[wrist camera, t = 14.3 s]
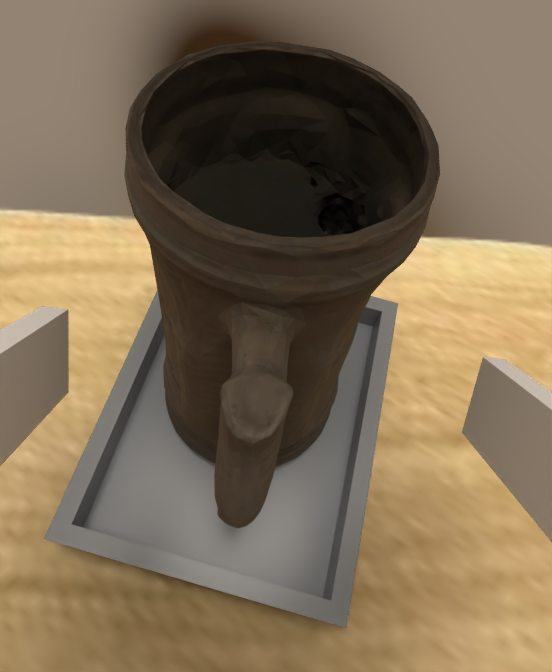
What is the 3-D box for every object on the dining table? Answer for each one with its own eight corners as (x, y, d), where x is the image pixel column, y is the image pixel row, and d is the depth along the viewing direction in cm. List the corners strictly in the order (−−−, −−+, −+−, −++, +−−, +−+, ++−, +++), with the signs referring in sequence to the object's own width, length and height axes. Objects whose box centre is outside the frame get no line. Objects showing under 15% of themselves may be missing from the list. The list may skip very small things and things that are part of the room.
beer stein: (168, 312, 33) (111, 10, 15) (317, 310, 35) (423, 32, 17) (162, 551, 26) (48, 505, 9) (348, 536, 28) (578, 471, 10)
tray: (61, 542, 27) (43, 539, 24) (182, 266, 36) (179, 242, 33) (333, 623, 26) (346, 628, 24) (384, 323, 36) (398, 303, 33)
